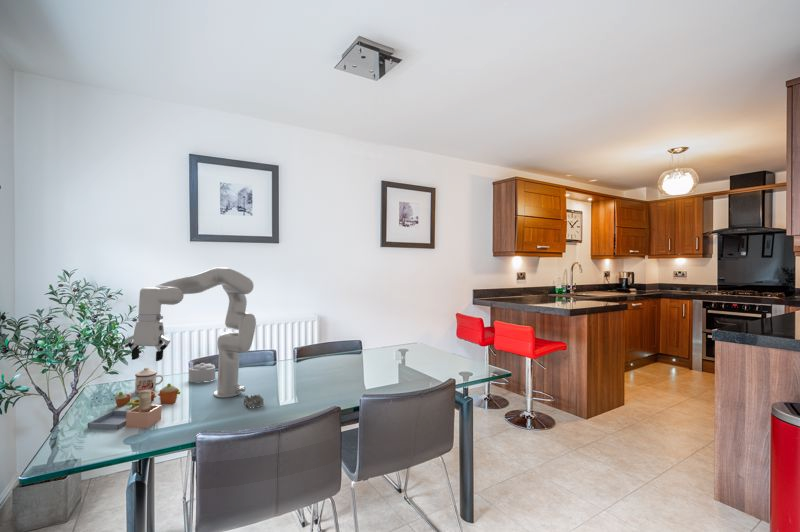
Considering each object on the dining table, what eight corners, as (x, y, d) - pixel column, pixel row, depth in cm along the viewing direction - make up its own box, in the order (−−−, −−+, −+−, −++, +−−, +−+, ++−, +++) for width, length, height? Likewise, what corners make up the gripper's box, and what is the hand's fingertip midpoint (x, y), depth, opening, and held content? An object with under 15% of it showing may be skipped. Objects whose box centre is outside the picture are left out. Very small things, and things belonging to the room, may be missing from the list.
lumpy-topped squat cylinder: (215, 381, 209) (216, 366, 209) (188, 384, 202) (189, 368, 202) (213, 376, 218) (214, 361, 218) (188, 378, 211) (188, 363, 211)
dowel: (152, 421, 154) (153, 389, 154) (145, 425, 150) (147, 393, 150) (142, 420, 154) (143, 389, 154) (135, 425, 150) (137, 392, 150)
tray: (141, 418, 159) (141, 411, 158) (118, 432, 146) (118, 424, 145) (112, 417, 158) (112, 410, 158) (87, 430, 145) (87, 423, 145)
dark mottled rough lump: (242, 402, 182) (242, 394, 182) (258, 399, 186) (258, 391, 186) (248, 410, 173) (248, 401, 173) (264, 407, 177) (265, 398, 177)
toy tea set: (177, 394, 188) (178, 375, 188) (183, 403, 177) (184, 383, 177) (112, 405, 171) (113, 384, 171) (114, 416, 160) (115, 394, 159)
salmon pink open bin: (161, 421, 156) (161, 404, 156) (147, 430, 148) (148, 413, 148) (140, 420, 156) (141, 404, 156) (125, 429, 148) (126, 412, 148)
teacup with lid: (134, 394, 184) (135, 371, 184) (134, 389, 191) (135, 366, 191) (162, 391, 190) (163, 368, 190) (162, 385, 198) (163, 363, 198)
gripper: (176, 317, 156) (173, 358, 156) (134, 315, 156) (132, 356, 156) (164, 320, 149) (162, 363, 149) (121, 318, 149) (119, 360, 149)
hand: (147, 359), depth 152 cm, fingers open, 9 cm apart
